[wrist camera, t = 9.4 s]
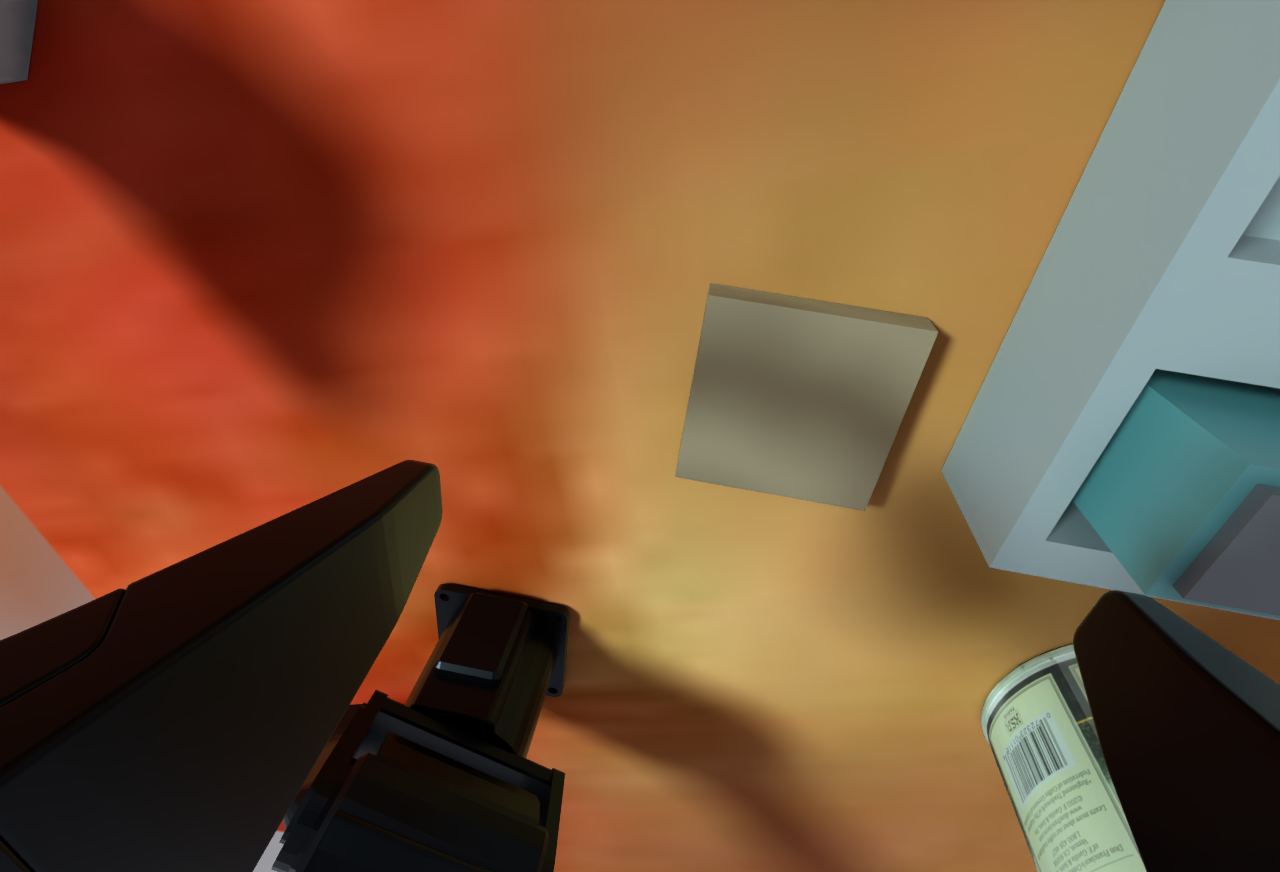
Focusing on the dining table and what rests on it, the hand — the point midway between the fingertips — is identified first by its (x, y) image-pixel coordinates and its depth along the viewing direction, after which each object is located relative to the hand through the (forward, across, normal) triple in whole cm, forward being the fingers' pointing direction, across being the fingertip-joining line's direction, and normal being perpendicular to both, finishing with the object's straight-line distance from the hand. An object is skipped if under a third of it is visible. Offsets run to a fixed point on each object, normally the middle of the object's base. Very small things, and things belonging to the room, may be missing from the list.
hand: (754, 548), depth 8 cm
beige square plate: (+13, -2, +4) cm, 14 cm away
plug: (+12, -12, +2) cm, 17 cm away
